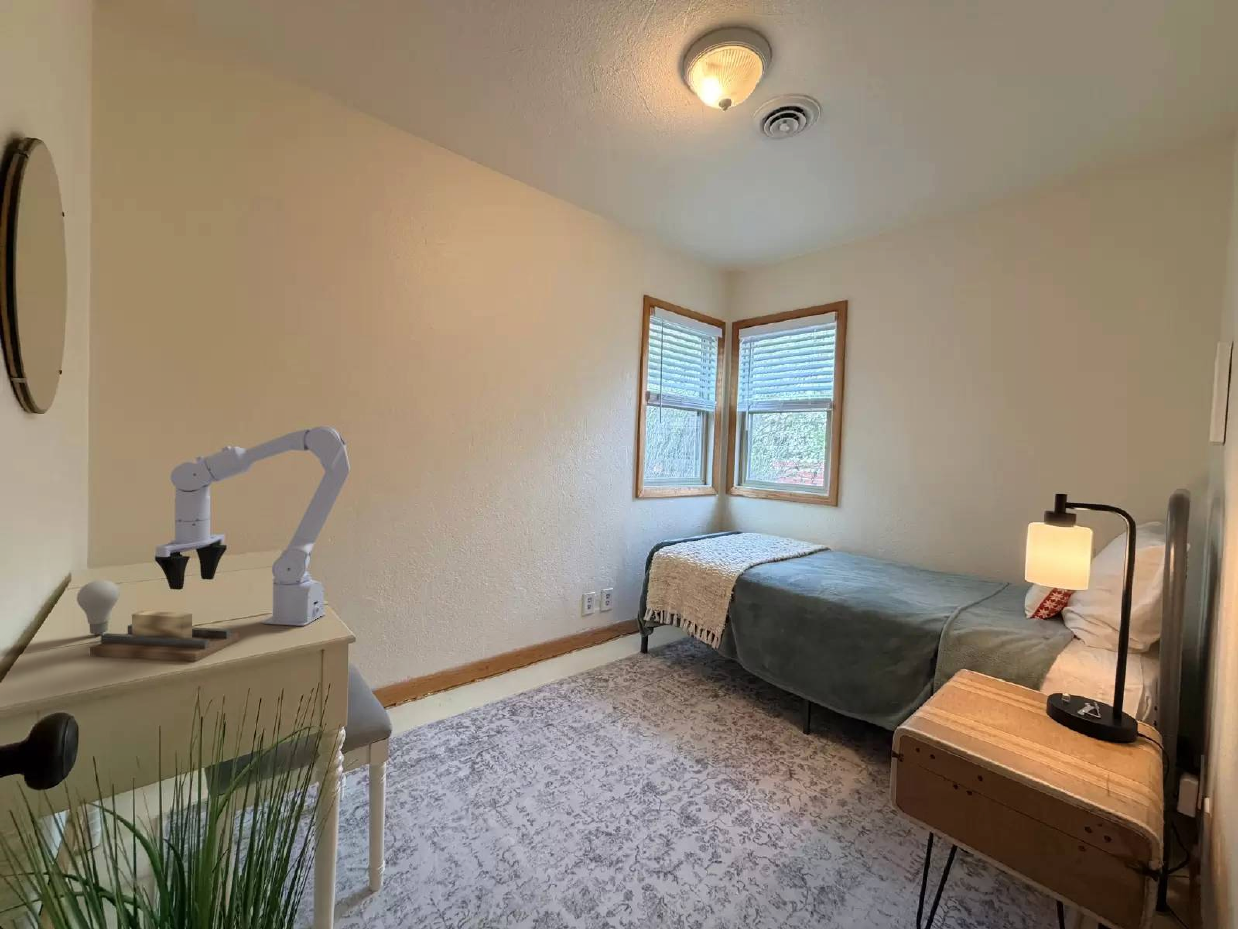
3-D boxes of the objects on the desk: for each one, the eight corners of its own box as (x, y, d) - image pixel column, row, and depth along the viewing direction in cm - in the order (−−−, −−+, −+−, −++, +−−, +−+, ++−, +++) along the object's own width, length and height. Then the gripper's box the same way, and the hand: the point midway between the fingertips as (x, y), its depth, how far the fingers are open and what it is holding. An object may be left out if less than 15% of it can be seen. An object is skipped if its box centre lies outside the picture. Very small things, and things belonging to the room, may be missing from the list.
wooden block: (192, 639, 100) (192, 613, 100) (182, 643, 98) (183, 617, 98) (142, 636, 100) (142, 610, 100) (131, 640, 98) (131, 614, 98)
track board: (238, 640, 104) (238, 625, 104) (195, 661, 94) (195, 645, 94) (142, 635, 105) (142, 620, 105) (89, 655, 95) (89, 639, 95)
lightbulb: (92, 642, 100) (92, 586, 100) (68, 638, 102) (68, 583, 101) (128, 631, 106) (128, 578, 106) (104, 628, 108) (104, 575, 107)
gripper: (203, 513, 116) (203, 574, 116) (141, 523, 101) (141, 592, 102) (234, 515, 116) (233, 575, 116) (175, 525, 101) (175, 594, 102)
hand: (192, 583), depth 109 cm, fingers open, 7 cm apart
